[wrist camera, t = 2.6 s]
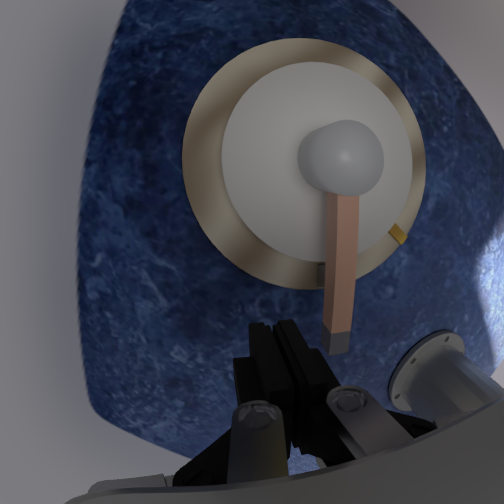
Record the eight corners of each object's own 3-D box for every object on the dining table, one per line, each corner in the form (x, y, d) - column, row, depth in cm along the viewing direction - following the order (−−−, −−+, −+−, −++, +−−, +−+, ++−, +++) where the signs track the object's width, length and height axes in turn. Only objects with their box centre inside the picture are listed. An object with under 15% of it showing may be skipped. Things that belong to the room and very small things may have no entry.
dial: (218, 64, 20) (220, 36, 15) (397, 81, 22) (433, 67, 17) (230, 334, 26) (235, 371, 21) (392, 313, 28) (422, 339, 23)
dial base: (447, 157, 26) (458, 157, 24) (325, 324, 29) (332, 333, 27) (290, 5, 21) (295, -4, 19) (132, 185, 24) (125, 186, 22)
